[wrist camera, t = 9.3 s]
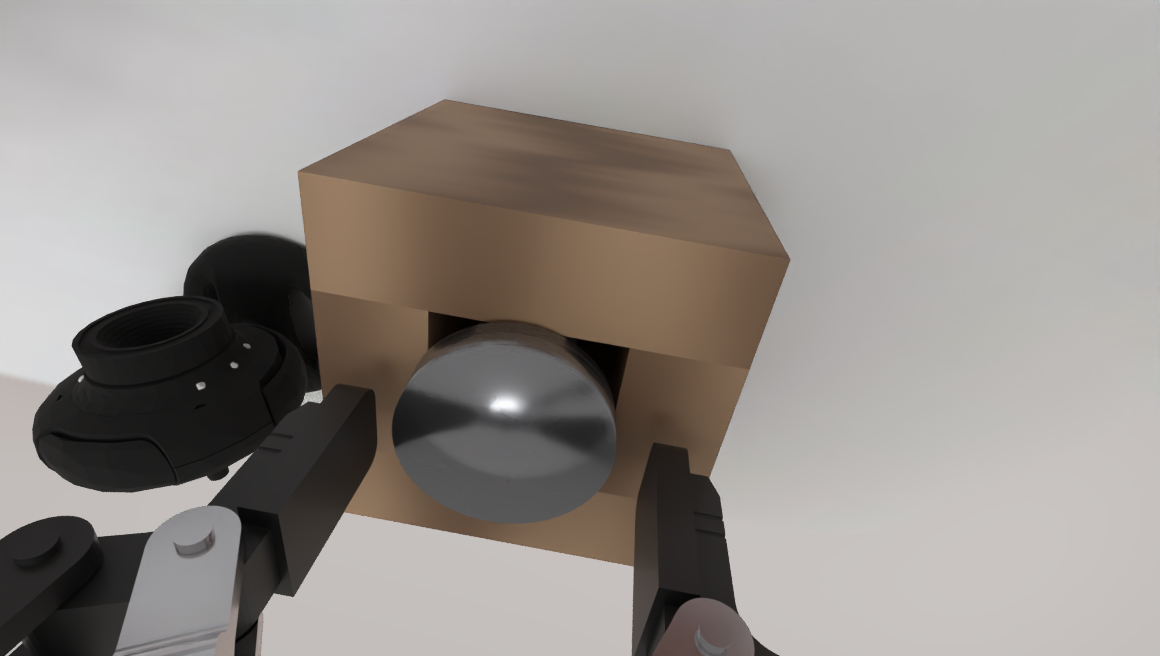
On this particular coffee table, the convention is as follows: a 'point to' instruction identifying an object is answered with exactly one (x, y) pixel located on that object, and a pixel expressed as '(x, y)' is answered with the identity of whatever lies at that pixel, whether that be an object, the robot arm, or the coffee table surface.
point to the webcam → (183, 375)
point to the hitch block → (541, 286)
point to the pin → (507, 423)
